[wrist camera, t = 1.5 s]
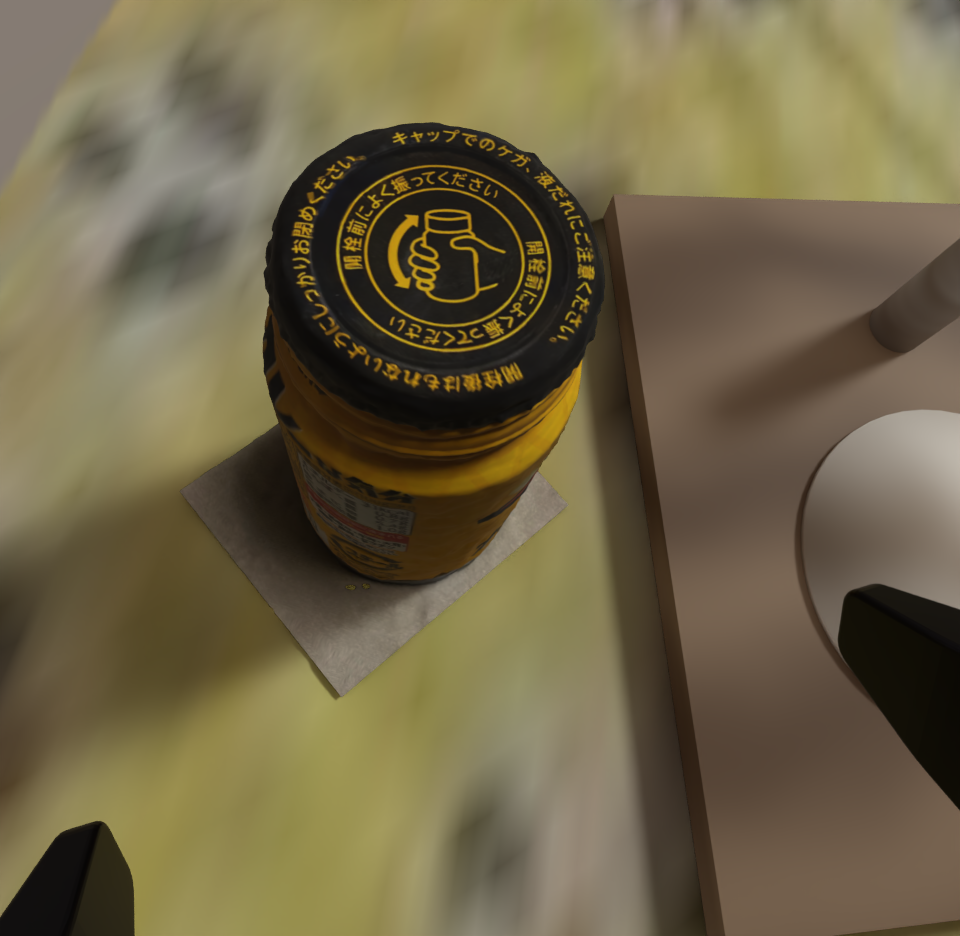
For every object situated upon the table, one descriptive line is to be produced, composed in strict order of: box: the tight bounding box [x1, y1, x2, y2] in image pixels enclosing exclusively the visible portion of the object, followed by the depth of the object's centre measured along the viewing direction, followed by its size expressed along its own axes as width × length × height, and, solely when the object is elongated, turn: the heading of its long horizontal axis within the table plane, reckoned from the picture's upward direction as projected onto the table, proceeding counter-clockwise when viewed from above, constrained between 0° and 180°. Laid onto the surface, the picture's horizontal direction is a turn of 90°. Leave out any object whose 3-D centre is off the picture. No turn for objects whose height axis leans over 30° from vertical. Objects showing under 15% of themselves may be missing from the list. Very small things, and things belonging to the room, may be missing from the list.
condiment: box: [180, 122, 605, 697], centre depth 17 cm, size 7×8×12 cm
